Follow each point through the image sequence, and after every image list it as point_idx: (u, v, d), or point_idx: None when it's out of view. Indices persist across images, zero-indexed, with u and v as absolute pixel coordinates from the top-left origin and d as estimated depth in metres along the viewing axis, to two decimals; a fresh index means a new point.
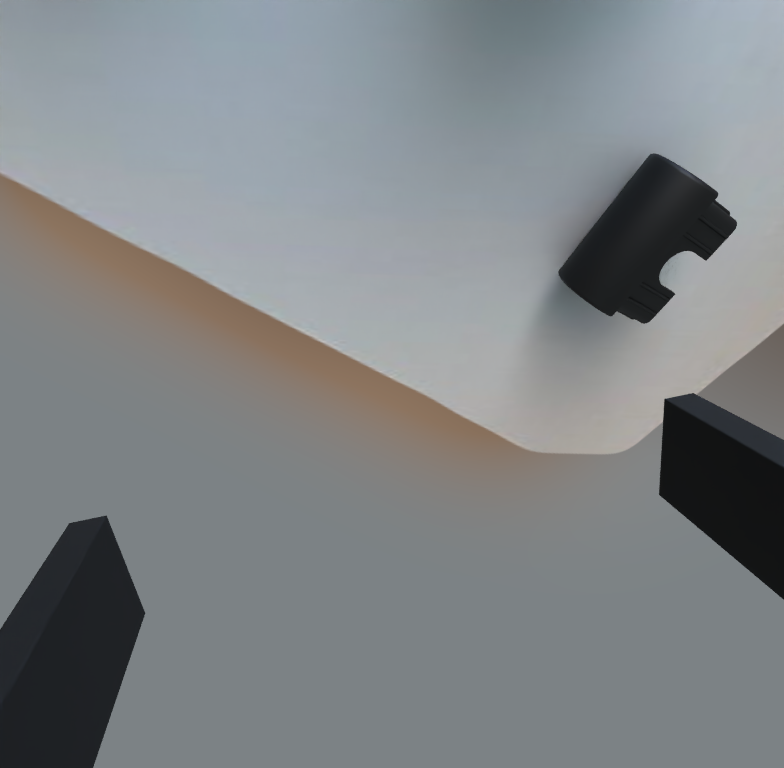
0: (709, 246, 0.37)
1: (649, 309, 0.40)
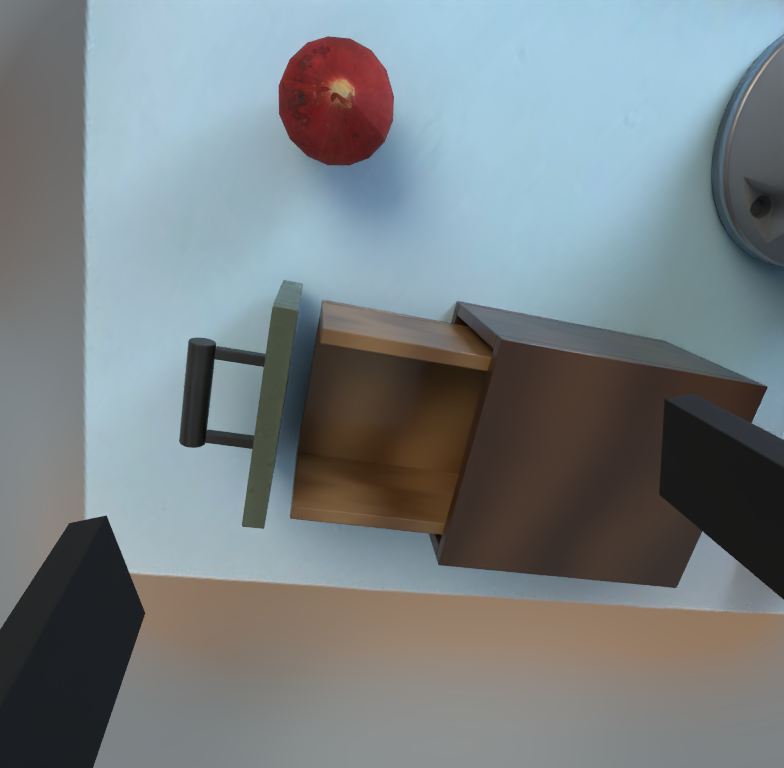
0: None
1: None
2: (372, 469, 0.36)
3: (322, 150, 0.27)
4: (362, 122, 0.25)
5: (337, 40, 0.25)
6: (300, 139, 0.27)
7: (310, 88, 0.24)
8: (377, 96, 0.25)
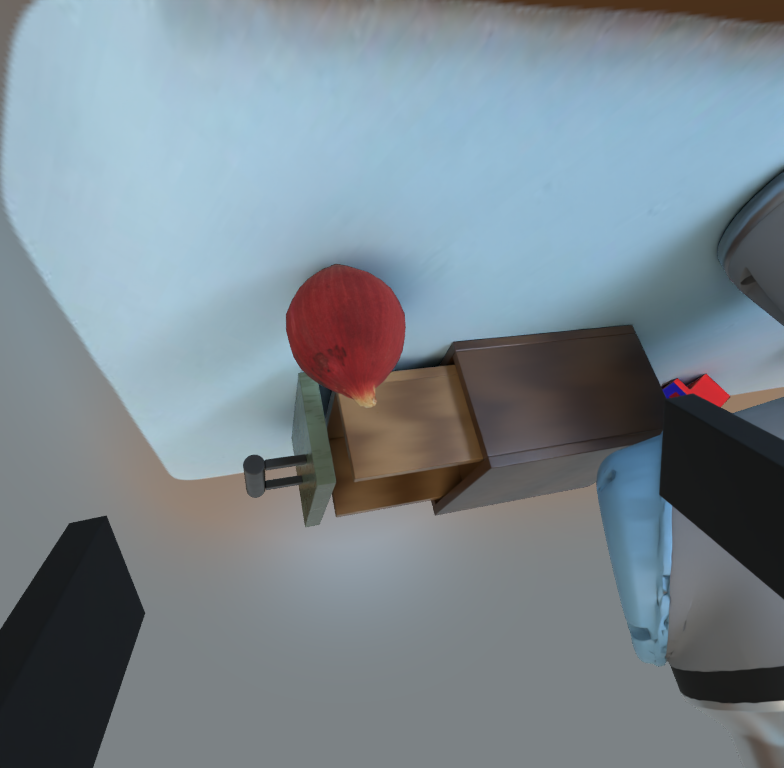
0: None
1: None
2: None
3: None
4: None
5: (350, 332, 0.24)
6: None
7: (332, 386, 0.25)
8: (393, 364, 0.26)
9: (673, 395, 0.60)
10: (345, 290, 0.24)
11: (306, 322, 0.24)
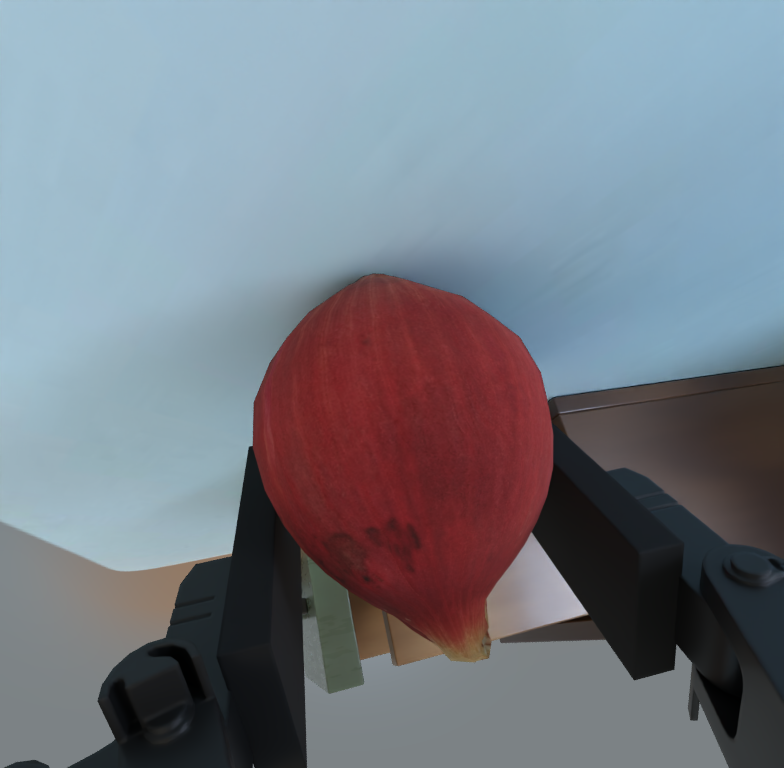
0: None
1: None
2: None
3: None
4: None
5: (434, 483, 0.08)
6: None
7: (373, 605, 0.09)
8: None
9: None
10: (416, 354, 0.08)
11: (304, 445, 0.09)
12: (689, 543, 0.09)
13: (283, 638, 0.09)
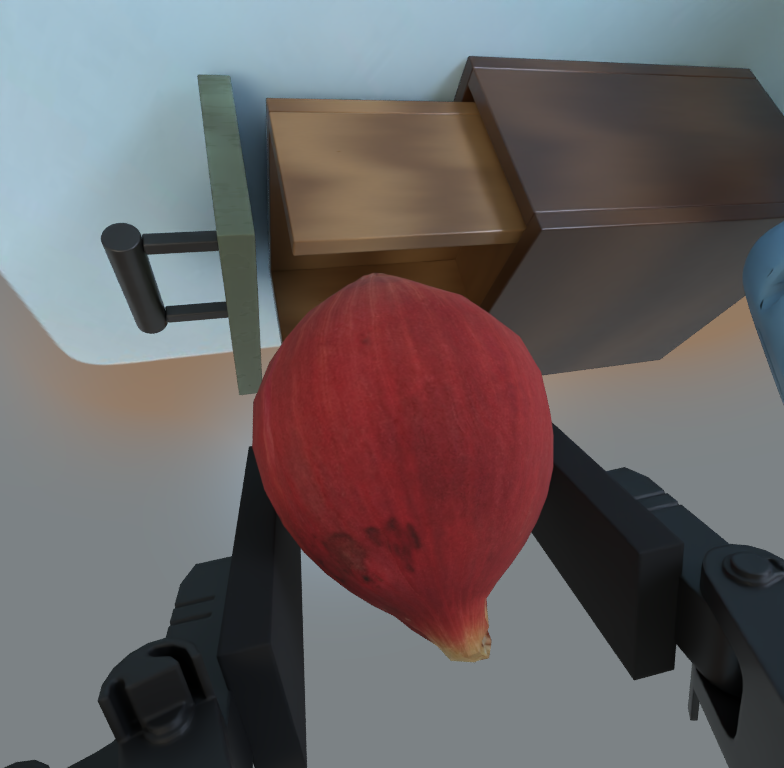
0: None
1: None
2: None
3: None
4: None
5: (434, 482, 0.08)
6: None
7: (373, 605, 0.09)
8: None
9: None
10: (416, 354, 0.08)
11: (304, 444, 0.09)
12: (688, 543, 0.09)
13: (283, 638, 0.09)
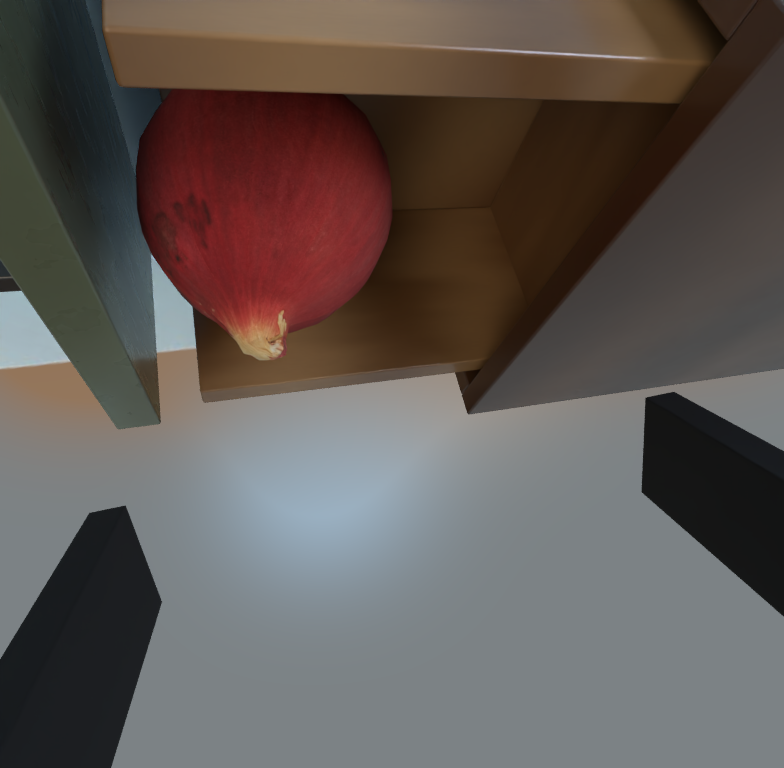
0: None
1: None
2: None
3: None
4: (317, 320, 0.12)
5: (224, 165, 0.10)
6: None
7: (194, 302, 0.11)
8: (341, 276, 0.12)
9: None
10: None
11: (148, 144, 0.11)
12: None
13: None
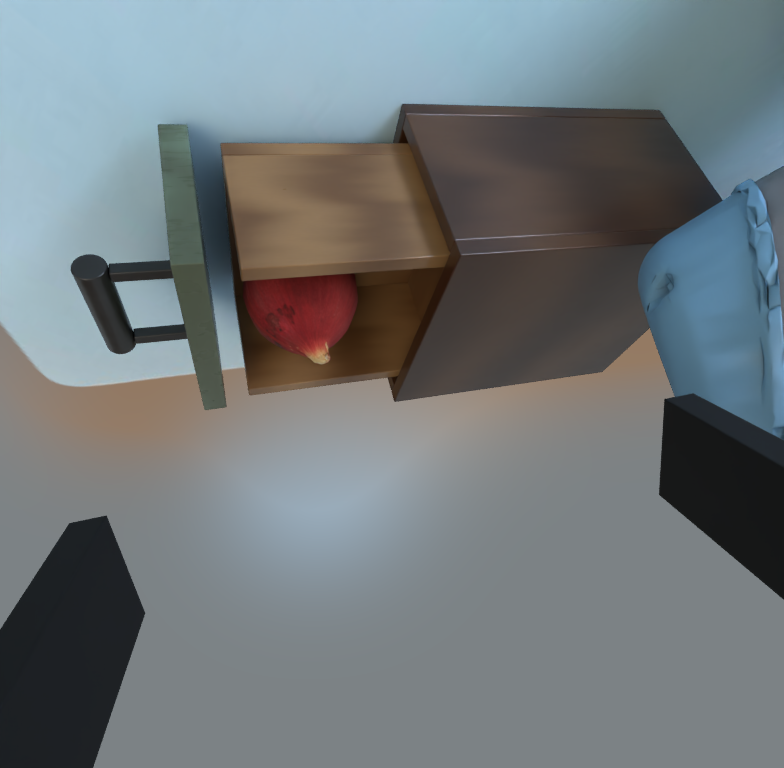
0: None
1: None
2: None
3: None
4: (336, 342, 0.28)
5: (296, 291, 0.25)
6: None
7: (286, 346, 0.27)
8: (345, 322, 0.27)
9: None
10: None
11: (257, 285, 0.26)
12: None
13: None
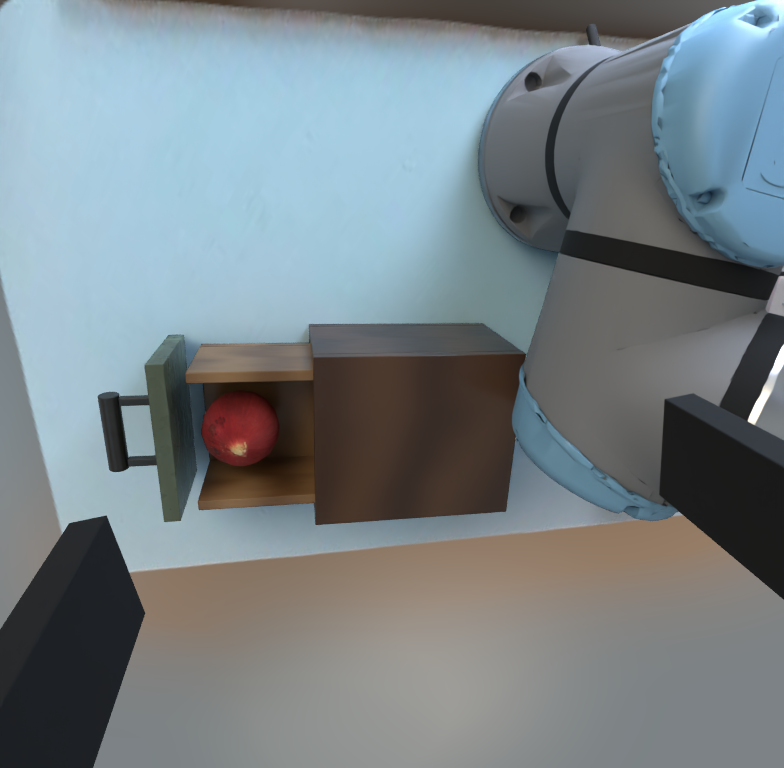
0: None
1: None
2: (268, 463, 0.46)
3: None
4: (257, 452, 0.40)
5: (228, 408, 0.40)
6: (223, 461, 0.41)
7: (219, 447, 0.39)
8: (262, 433, 0.40)
9: None
10: (231, 393, 0.41)
11: (207, 412, 0.41)
12: None
13: None
